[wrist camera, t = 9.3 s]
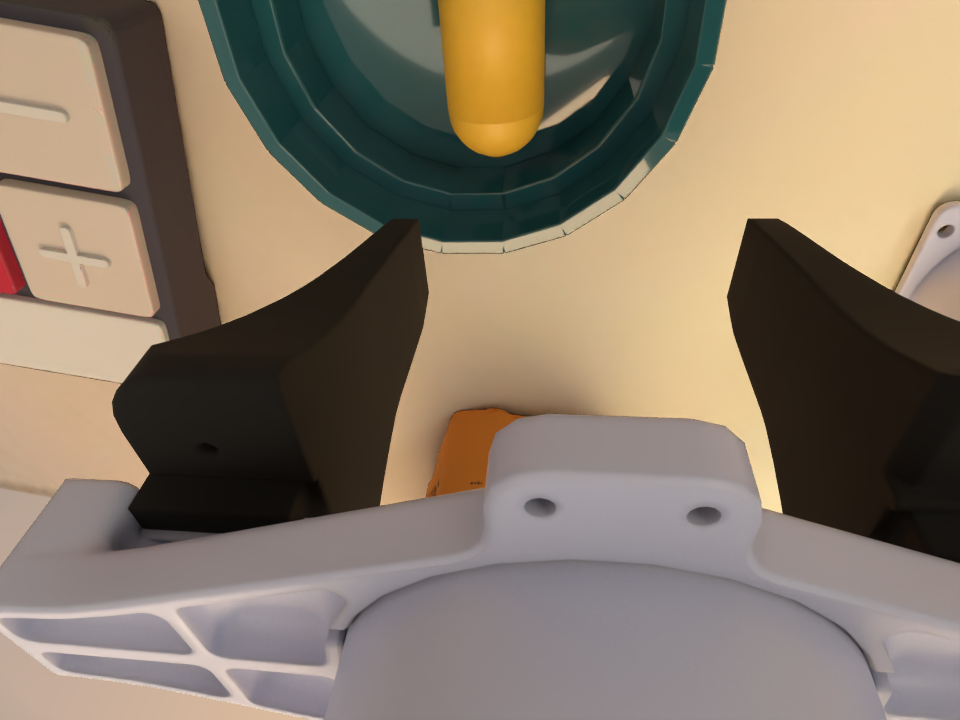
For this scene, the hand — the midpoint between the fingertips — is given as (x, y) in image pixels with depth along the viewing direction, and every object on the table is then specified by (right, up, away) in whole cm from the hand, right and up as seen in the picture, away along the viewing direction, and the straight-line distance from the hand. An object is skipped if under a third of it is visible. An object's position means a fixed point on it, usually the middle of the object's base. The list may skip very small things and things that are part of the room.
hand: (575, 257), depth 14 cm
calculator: (-19, +5, +11) cm, 22 cm away
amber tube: (-2, +9, +4) cm, 10 cm away
